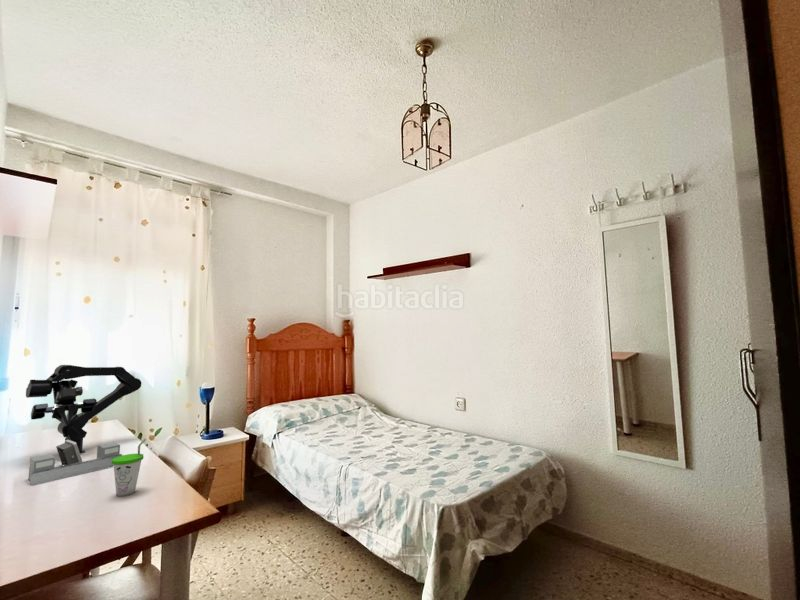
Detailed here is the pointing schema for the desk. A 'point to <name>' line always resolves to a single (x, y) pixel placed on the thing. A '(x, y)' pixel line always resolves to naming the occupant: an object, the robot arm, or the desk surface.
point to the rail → (71, 470)
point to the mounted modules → (49, 460)
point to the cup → (127, 472)
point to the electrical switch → (69, 453)
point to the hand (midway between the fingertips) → (67, 425)
